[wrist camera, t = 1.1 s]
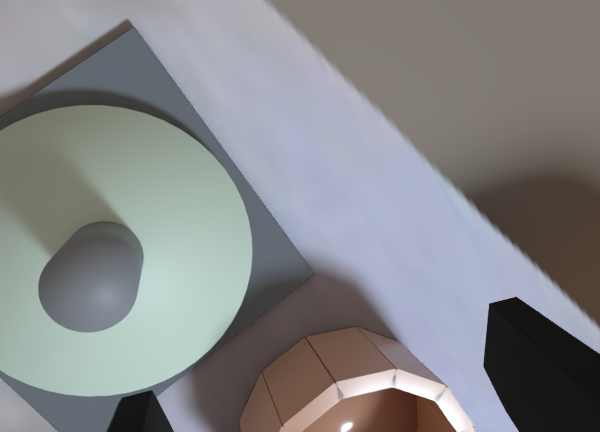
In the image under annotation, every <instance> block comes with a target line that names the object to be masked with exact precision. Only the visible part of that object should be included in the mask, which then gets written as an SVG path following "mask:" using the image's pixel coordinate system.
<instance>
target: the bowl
mask: <svg viewBox="0 0 600 432" xmlns="http://www.w3.org/2000/svg"><path fill="white" fill-rule="evenodd" d="M262 372H263V373H262ZM262 372H261V373H260V375H259V378H258V380H257V382H256V384H255V386H254V389H253V391H252V393H251V395H250V397H249V400H248V402H247V404H246V406H245V408H244V411H243V413H242V415H241V417H240V419H239V426H240V432H475V427H474V424H473V423H472V421H471V420H470V418H469V417H468V416H467V414H466V413H465V411H464V410H463V408H462V407H461V405H460V404H459V402H458V401H457V400H456V398H455V397H454V395H453V394H452V392H451V391H450V389H449V388H448V386H447V385H445V384H444V383H443V382H442V381H441V380H440V379H439V378H438V377H437V376H436V375H435V374H433V373H432V372H431V371H430V370H429V369H428V368H427V367H426V366H425V365H424V364H423V363H422V362H420V361H419V360H418V359H417V358H416V357H415V356H414V355H413V354H412V353H411V352H410V351H408V350H407V349H406V348H405V347H404V346H403V345H402V344H401V343H400V342H398V341H395V340H392V339H389V338H387V337H384V336H381V335H378V334H376V333H373V332H370V331H367V330H365V329H362V328H359V327H357V328H356V327H351V328H346V329H341V330H336V331H331V332H326V333H321V334H316V335H311V336H306V338H305V337H304V338H303V339H301V340H300V341H299V342H298V343H296V344H295V345H294V346H293V347H291V348H290V349H289V350H288V351H286V352H285V353H284V354H283V355H281V356H280V357H279V358H278V359H276V360H275V361H274V362H272V363H271V364H270V365H269V366H267V367H266V368H265V369H264V370H262Z"/></svg>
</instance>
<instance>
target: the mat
mask: <svg viewBox="0 0 600 432" xmlns="http://www.w3.org/2000/svg"><path fill="white" fill-rule="evenodd" d="M78 105H104V106H113V107H121V108H126V109H130V110H134V111H138V112H143V113H146V114H148V115H151V116H153V117H156V118H159V119H161V120H164V121H166V122H168V123H170V124H171V125H173V126H175V127H177V128H179V129H181V130H182V131H184V132H185V133H187V134H188V135H190V136H191V137H192V138H194V139H195V140H197V141H198V142H199V143H200V144H201V145H203V146H204V147H205V148H206V149H207V150H208V151H209V152H210V153H211V154H212V155H213V156H214V157H215V158H216V159H217V160H218V162H219V163H220V164H221V165H222V166H223V168H224V169H225V170H226V172H227V173H228V175H229V176H230V178H231V179H232V181H233V182H234V184H235V186H236V188H237V190H238V192H239V194H240V196H241V198H242V200H243V203H244V206H245V209H246V212H247V215H248V219H249V224H250V229H251V235H252V265H251V273H250V278H249V282H248V286H247V290H246V293H245V296H244V298H243V301H242V304H241V306H240V308H239V310H238V312H237V314H236V316H235V317H234V319H233V321H232V323H231V324H230V326H229V327H228V328H227V330H226V331H225V333H224V334H223V336H222V337H221V338H220V339H219V340H218V341H217V342H216V343H215V345H214V346H213V347H212V348H211V349H210V350H209V351H208V352H207V353H205V354H204V355H203V356H202V357H201V358H200V359H199V360H197V361H196V362H195V363H193V364H192V365H190V366H189V367H188V368H186V369H185V370H183V371H182V372H180V373H178V374H176V375H174V376H173V377H171V378H169V379H167V380H165V381H163V382H160V383H157V384H155V385H152V386H150V387H147V388H144V389H140V390H136V391H133V392H129V393H123V394H116V395H110V396H76V395H66V394H61V393H56V392H51V391H46V390H43V389H40V388H37V387H34V386H31V385H28V384H26V383H23V382H21V381H19V380H17V379H15V378H13V377H10V376H9V375H7V374H5V373H4V372H2V371H1V370H0V378H1V379H3V380H4V381H5V382H6V383H7V384H8V385H9V386H10V387H11V388H12V389H13V390H14V391H15V392H16V393H18V394H19V395H20V396H21V397H22V398H23V399H24V400H25V401H26V402H27V403H28V404H29V405H30V406H31V407H33V408H34V409H35V410H36V411H37V412H38V413H39V414H40V415H41V416H42V417H43V418H44V419H45V420H46V421H48V422H49V423H50V424H51V425H52V426H53V427H54V428H55V429H56V430H57V431H58V432H107V429H108V427H109V424H110V422H111V420H112V417H113V415H114V413H115V410H116V408H117V405H118V403H119V401H120V400H121V399H122V397H126V396H130V395H134V394H138V393H142V392H146V391H150V390H153V392H154V394H155V396H156V397H157V396H158V395H159V394H161V393H162V392H163V391H164V390H166V389H167V388H168V387H170V386H171V385H172V384H173V383H175V382H176V381H177V380H179V379H180V378H181V377H182V376H184V375H185V374H186V373H188V372H189V371H190V370H191V369H193V368H194V367H195V366H196V365H198V364H199V363H200V362H202V361H203V360H204V359H205V358H207V357H208V356H209V355H211V354H212V353H213V352H214V351H216V350H217V349H218V348H220V347H221V346H222V345H223V344H225V343H226V342H227V341H229V340H230V339H231V338H232V337H234V336H235V335H236V334H238V333H239V332H240V331H241V330H243V329H244V328H245V327H247V326H248V325H249V324H250V323H252V322H253V321H254V320H256V319H257V318H258V317H259V316H261V315H262V314H263V313H265V312H266V311H267V310H268V309H270V308H271V307H272V306H274V305H275V304H276V303H277V302H279V301H280V300H281V299H283V298H284V297H285V296H286V295H288V294H289V293H290V292H292V291H293V290H294V289H295V288H297V287H298V286H299V285H300V284H302V283H303V282H304V281H306V280H307V279H308V278H309V277H311V276H312V275H313V274H314V272H313V271H312V270H311V268H310V267H309V265H308V264H307V263H306V261H305V260H304V259H303V257H302V256H301V254H300V253H299V252H298V250H297V249H296V248H295V246H294V245H293V243H292V242H291V241H290V239H289V238H288V237H287V235H286V234H285V232H284V231H283V230H282V228H281V227H280V226H279V224H278V223H277V222H276V220H275V219H274V217H273V216H272V215H271V213H270V212H269V211H268V209H267V208H266V206H265V205H264V204H263V202H262V201H261V200H260V198H259V197H258V195H257V194H256V193H255V191H254V190H253V189H252V187H251V186H250V185H249V183H248V182H247V180H246V179H245V178H244V176H243V175H242V174H241V172H240V171H239V169H238V168H237V167H236V165H235V164H234V163H233V161H232V160H231V158H230V157H229V156H228V154H227V153H226V152H225V150H224V149H223V148H222V146H221V145H220V143H219V142H218V141H217V139H216V138H215V137H214V135H213V134H212V132H211V131H210V130H209V128H208V127H207V126H206V124H205V123H204V121H203V120H202V119H201V117H200V116H199V115H198V113H197V112H196V110H195V109H194V108H193V106H192V105H191V104H190V102H189V101H188V100H187V98H186V97H185V95H184V94H183V93H182V91H181V90H180V89H179V87H178V86H177V84H176V83H175V82H174V80H173V79H172V78H171V76H170V75H169V73H168V72H167V71H166V69H165V68H164V67H163V65H162V64H161V63H160V61H159V60H158V58H157V57H156V56H155V54H154V53H153V52H152V50H151V49H150V47H149V46H148V45H147V43H146V42H145V41H144V39H143V38H142V36H141V35H140V34H139V32H138V31H137V30H136V28H135V27H134V28H132V29H131V30H129V31H128V32H126V33H125V34H123V35H122V36H120V37H119V38H117V39H116V40H114V41H113V42H111V43H110V44H108V45H107V46H105V47H104V48H102V49H101V50H99V51H98V52H96V53H95V54H94V55H92V56H91V57H89V58H88V59H86V60H85V61H83V62H82V63H80V64H79V65H77V66H76V67H74V68H73V69H71V70H70V71H68V72H67V73H65V74H64V75H62V76H61V77H59V78H58V79H56V80H55V81H54V82H52V83H51V84H49V85H48V86H46V87H45V88H43V89H42V90H40V91H39V92H37V93H36V94H34V95H33V96H31V97H30V98H28V99H27V100H25V101H24V102H22V103H21V104H19V105H18V106H16V107H15V108H13V109H12V110H11V111H9V112H8V113H6V114H5V115H3V116H2V117H0V131H1V130H3V129H4V128H6V127H8V126H10V125H11V124H13V123H15V122H17V121H20V120H22V119H25V118H27V117H29V116H32V115H34V114H38V113H41V112H45V111H49V110H52V109H56V108H63V107H70V106H78Z"/></svg>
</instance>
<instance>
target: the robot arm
mask: <svg viewBox="0 0 600 432" xmlns="http://www.w3.org/2000/svg"><path fill="white" fill-rule="evenodd" d="M483 366H484V368H485V371H486V373H487V375H488V377H489V379H490V381H491V383H492V385H493V387H494V389H495V391H496V393H497V395H498V397H499V399H500V401H501V403H502V404H503V406H504V408H505V410H506V412H507V414H508V415H509V417H510V418H511V420H512V421H513V423H514V425H515V426H516V428H517V429H518V431H519V432H600V354H599V353H597V352H596V351H594V350H593V349H591V348H590V347H589V346H587V345H586V344H584V343H583V342H581V341H580V340H578V339H577V338H575V337H574V336H572V335H571V334H569V333H568V332H567V331H565V330H564V329H562V328H561V327H559V326H558V325H556V324H555V323H554V322H552V321H551V320H549V319H548V318H546V317H545V316H543V315H542V314H541V313H539V312H538V311H536V310H535V309H533V308H532V307H530V306H529V305H528V304H526V303H525V302H523V301H522V300H520V299H519V298H517V297H514V298H510V299H506V300H502V301H498V302H494V303H490V304H489V312H488V323H487V333H486V344H485V354H484V365H483ZM107 432H174V431H173V429H172V427H171V425H170V423H169V421H168V419H167V417H166V415H165V413H164V412H163V410H162V408H161V406H160V404H159V402H158V400H157V398H156V396H155V394H154V392H153V390H150V391H146V392H142V393H138V394H134V395H130V396H126V397H122V399H121V400H120V401H119V403H118V405H117V408H116V410H115V413H114V415H113V417H112V420H111V422H110V424H109V427H108V429H107Z"/></svg>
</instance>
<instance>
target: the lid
mask: <svg viewBox="0 0 600 432" xmlns="http://www.w3.org/2000/svg"><path fill="white" fill-rule="evenodd" d="M251 265H252V235H251V229H250V224H249V219H248V215H247V212H246V209H245V206H244V203H243V200H242V198H241V196H240V194H239V192H238V190H237V188H236V186H235V184H234V182H233V181H232V179H231V178H230V176H229V175H228V173H227V172H226V170H225V169H224V168H223V166H222V165H221V164H220V163H219V162H218V160H217V159H216V158H215V157H214V156H213V155H212V154H211V153H210V152H209V151H208V150H207V149H206V148H205V147H204V146H203V145H201V144H200V143H199V142H198V141H197V140H195V139H194V138H192V137H191V136H190V135H188V134H187V133H185V132H184V131H182V130H181V129H179V128H177V127H175V126H173V125H171V124H170V123H168V122H166V121H164V120H161V119H159V118H156V117H153V116H151V115H148V114H146V113H143V112H138V111H134V110H130V109H126V108H121V107H113V106H104V105H78V106H70V107H63V108H56V109H52V110H49V111H45V112H41V113H38V114H34V115H32V116H29V117H27V118H25V119H22V120H20V121H17V122H15V123H13V124H11V125H10V126H8V127H6V128H4V129H3V130H1V131H0V370H1V371H2V372H4V373H5V374H7V375H9V376H10V377H13V378H15V379H17V380H19V381H21V382H23V383H26V384H28V385H31V386H34V387H37V388H40V389H43V390H46V391H51V392H56V393H61V394H66V395H76V396H110V395H116V394H123V393H129V392H133V391H136V390H140V389H144V388H147V387H150V386H152V385H155V384H157V383H160V382H163V381H165V380H167V379H169V378H171V377H173V376H174V375H176V374H178V373H180V372H182V371H183V370H185V369H186V368H188V367H189V366H190V365H192V364H193V363H195V362H196V361H197V360H199V359H200V358H201V357H202V356H203V355H204V354H205V353H207V352H208V351H209V350H210V349H211V348H212V347H213V346H214V345H215V343H216V342H217V341H218V340H219V339H220V338H221V337H222V336H223V334H224V333H225V331H226V330H227V328H228V327H229V326H230V324H231V323H232V321H233V319H234V317H235V316H236V314H237V312H238V310H239V308H240V306H241V304H242V301H243V298H244V296H245V293H246V290H247V286H248V282H249V278H250V273H251Z"/></svg>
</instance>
